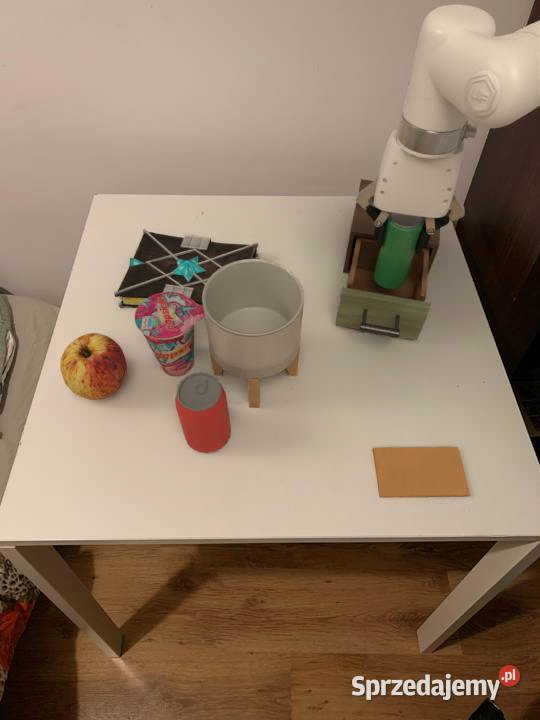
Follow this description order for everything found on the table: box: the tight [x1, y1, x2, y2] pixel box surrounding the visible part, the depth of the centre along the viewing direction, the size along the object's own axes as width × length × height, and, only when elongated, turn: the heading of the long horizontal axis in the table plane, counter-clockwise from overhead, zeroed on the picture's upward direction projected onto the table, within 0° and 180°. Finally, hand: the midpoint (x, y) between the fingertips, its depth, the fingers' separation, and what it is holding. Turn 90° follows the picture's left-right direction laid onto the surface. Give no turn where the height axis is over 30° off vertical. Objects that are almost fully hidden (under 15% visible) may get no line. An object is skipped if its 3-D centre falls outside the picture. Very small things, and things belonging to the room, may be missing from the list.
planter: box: [202, 258, 305, 409], centre depth 69 cm, size 13×13×18 cm
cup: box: [134, 292, 205, 377], centre depth 73 cm, size 9×8×12 cm
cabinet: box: [342, 178, 441, 275], centre depth 88 cm, size 15×15×10 cm
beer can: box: [174, 371, 232, 454], centre depth 66 cm, size 7×7×12 cm
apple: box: [59, 332, 128, 400], centre depth 71 cm, size 9×9×10 cm
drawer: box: [335, 237, 432, 341], centre depth 80 cm, size 18×13×8 cm
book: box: [113, 228, 259, 309], centre depth 86 cm, size 22×17×5 cm
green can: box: [374, 212, 424, 289], centre depth 75 cm, size 5×5×12 cm
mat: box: [372, 446, 471, 499], centre depth 67 cm, size 12×7×1 cm, turn 91°
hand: (398, 244), depth 74 cm, fingers closed on green can, 5 cm apart
